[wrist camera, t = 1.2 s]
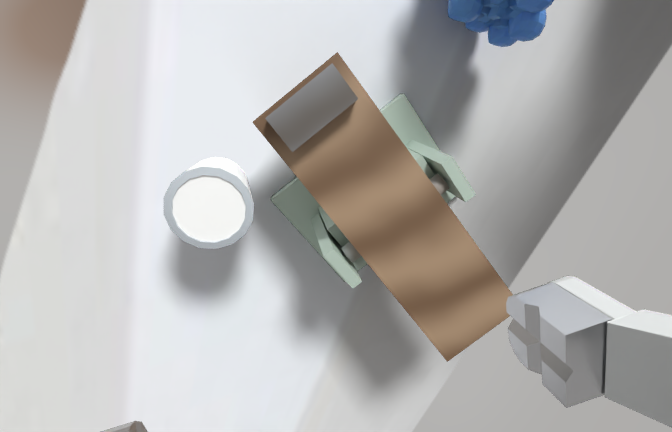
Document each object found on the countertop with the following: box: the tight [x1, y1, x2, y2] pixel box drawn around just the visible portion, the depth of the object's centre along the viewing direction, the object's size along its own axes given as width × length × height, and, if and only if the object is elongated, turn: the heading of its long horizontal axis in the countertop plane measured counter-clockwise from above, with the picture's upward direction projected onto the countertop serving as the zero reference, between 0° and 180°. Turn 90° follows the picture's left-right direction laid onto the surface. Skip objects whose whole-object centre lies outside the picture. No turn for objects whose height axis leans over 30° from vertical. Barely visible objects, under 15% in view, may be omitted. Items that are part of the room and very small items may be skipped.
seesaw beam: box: [253, 52, 513, 362], centre depth 31 cm, size 26×10×4 cm, turn 38°
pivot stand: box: [271, 94, 476, 289], centre depth 35 cm, size 16×12×10 cm
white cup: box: [164, 157, 254, 249], centre depth 33 cm, size 7×7×7 cm
